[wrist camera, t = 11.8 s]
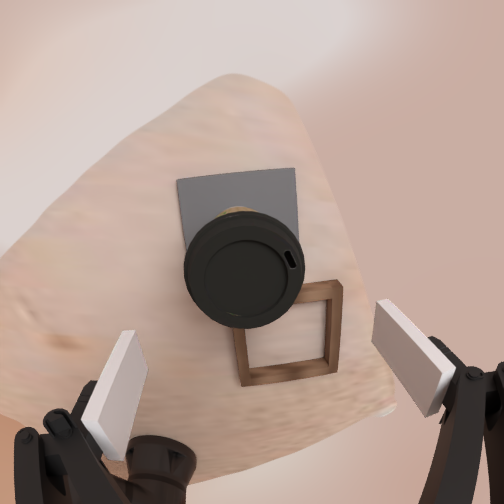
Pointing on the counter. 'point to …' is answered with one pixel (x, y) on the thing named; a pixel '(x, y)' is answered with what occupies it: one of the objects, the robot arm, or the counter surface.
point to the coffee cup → (244, 268)
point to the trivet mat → (238, 197)
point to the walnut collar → (303, 368)
